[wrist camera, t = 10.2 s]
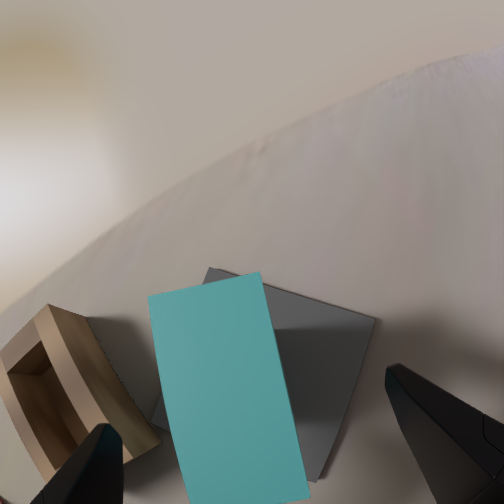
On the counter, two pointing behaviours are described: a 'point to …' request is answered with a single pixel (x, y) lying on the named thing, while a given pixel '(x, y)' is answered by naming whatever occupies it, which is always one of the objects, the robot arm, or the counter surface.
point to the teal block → (227, 394)
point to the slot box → (65, 391)
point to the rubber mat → (310, 366)
